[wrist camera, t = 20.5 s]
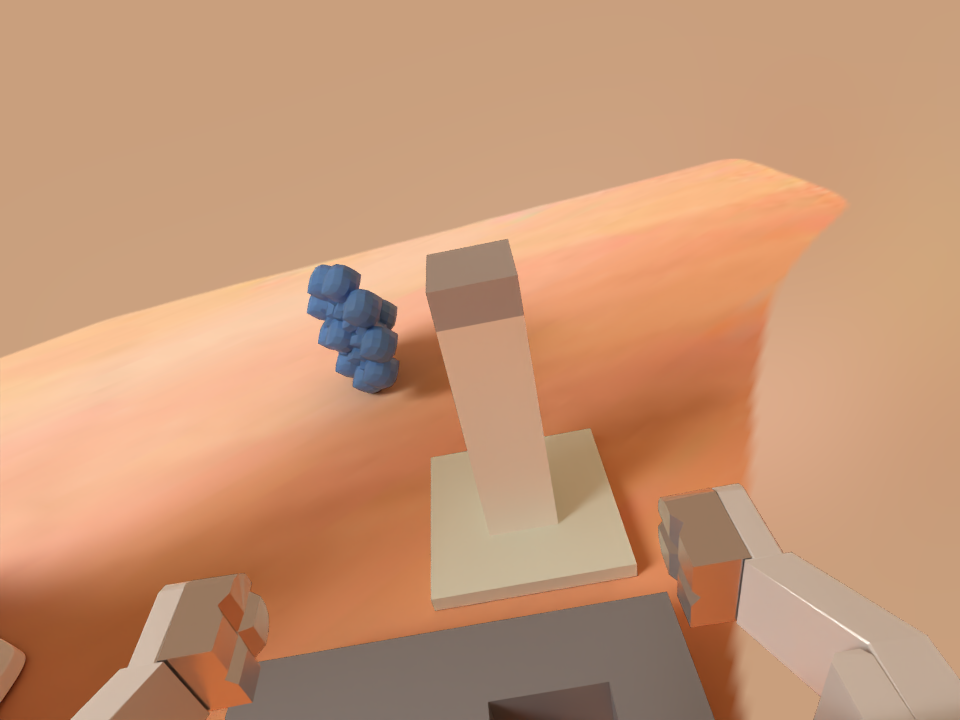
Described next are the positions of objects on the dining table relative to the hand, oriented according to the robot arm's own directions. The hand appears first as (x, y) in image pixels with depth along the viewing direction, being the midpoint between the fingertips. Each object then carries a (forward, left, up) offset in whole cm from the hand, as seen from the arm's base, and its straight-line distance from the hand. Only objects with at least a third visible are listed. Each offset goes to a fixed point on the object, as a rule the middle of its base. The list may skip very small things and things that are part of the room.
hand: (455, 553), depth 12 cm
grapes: (-29, +20, -19) cm, 40 cm away
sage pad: (-11, +14, -19) cm, 26 cm away
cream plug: (-11, +14, -18) cm, 25 cm away
